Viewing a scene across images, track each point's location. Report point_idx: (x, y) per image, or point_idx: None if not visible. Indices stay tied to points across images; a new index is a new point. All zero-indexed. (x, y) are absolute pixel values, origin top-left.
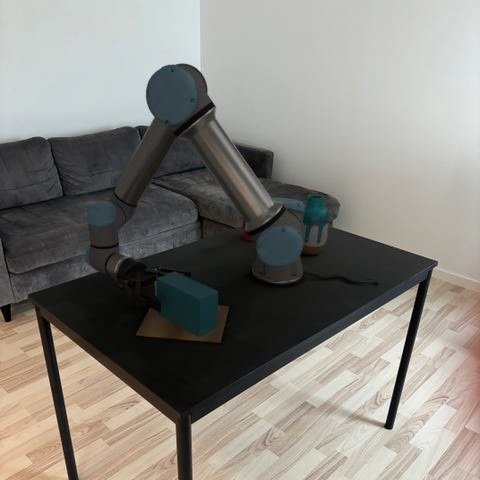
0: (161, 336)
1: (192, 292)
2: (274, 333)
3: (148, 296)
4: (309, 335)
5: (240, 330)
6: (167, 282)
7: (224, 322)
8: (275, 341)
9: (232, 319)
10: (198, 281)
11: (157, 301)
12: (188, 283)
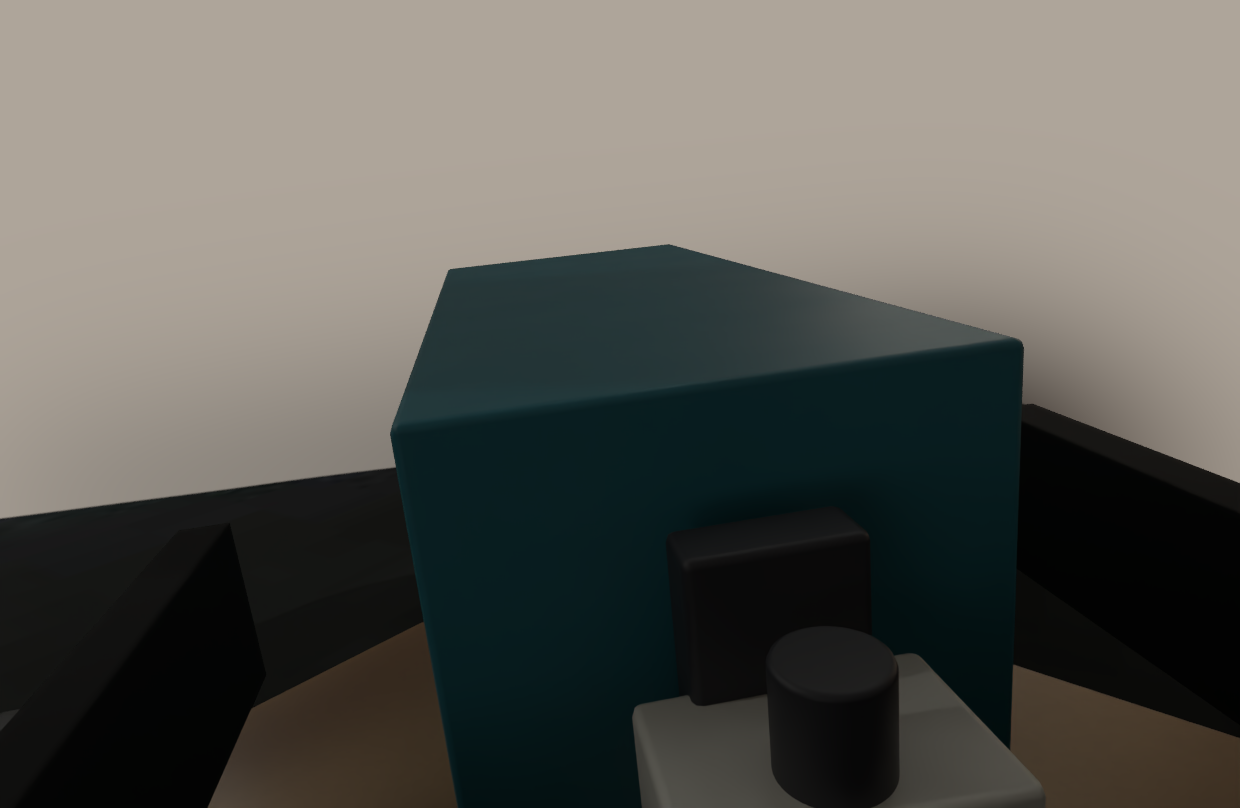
0: (1015, 670)
1: (653, 260)
2: (280, 530)
3: (1206, 478)
4: (194, 494)
5: (384, 586)
6: (822, 299)
7: (389, 641)
8: (355, 500)
9: (272, 684)
10: (143, 575)
11: (1044, 409)
12: (559, 294)
